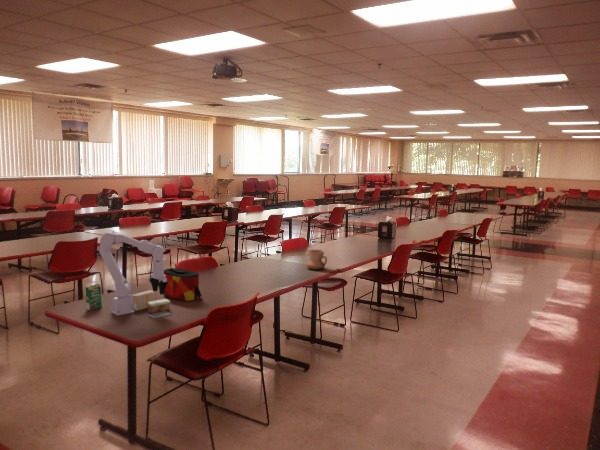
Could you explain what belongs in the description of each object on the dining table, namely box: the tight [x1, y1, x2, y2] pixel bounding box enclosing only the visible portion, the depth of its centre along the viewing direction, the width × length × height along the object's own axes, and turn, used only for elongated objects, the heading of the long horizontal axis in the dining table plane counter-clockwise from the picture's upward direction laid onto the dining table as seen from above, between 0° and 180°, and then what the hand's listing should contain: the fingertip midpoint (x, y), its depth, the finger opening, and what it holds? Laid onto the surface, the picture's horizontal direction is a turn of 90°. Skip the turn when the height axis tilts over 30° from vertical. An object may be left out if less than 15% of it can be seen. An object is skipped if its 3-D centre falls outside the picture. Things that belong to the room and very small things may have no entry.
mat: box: [147, 310, 173, 319], centre depth 249 cm, size 10×7×1 cm
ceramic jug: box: [305, 249, 328, 271], centre depth 365 cm, size 18×14×14 cm
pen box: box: [147, 303, 170, 314], centre depth 255 cm, size 10×4×4 cm, turn 133°
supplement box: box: [131, 289, 157, 311], centre depth 261 cm, size 8×5×13 cm
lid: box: [147, 298, 171, 307], centre depth 255 cm, size 11×5×1 cm, turn 133°
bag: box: [163, 267, 202, 302], centre depth 283 cm, size 30×14×16 cm, turn 56°
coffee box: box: [84, 283, 103, 312], centre depth 256 cm, size 8×3×13 cm, turn 151°
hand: (158, 292), depth 254 cm, fingers open, 7 cm apart
